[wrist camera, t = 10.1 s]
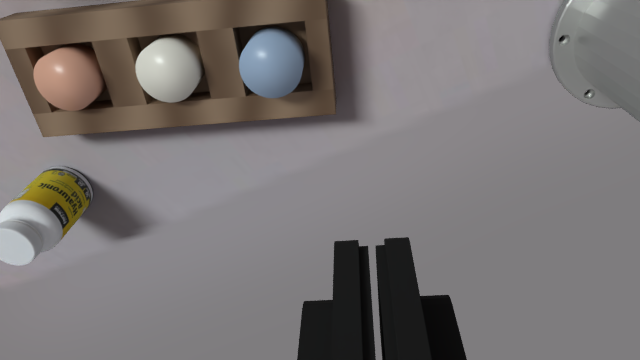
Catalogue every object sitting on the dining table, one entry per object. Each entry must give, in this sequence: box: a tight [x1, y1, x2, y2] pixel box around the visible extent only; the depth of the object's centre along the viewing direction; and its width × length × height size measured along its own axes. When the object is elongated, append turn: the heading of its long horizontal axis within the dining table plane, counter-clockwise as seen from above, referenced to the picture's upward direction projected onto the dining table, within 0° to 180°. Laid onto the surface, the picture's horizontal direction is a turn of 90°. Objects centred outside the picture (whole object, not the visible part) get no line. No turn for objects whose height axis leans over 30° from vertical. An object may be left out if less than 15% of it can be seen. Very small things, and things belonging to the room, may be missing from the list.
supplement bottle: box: [0, 166, 93, 266], centre depth 45 cm, size 5×5×10 cm
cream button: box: [136, 34, 205, 103], centre depth 39 cm, size 5×5×3 cm
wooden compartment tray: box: [0, 0, 336, 137], centre depth 40 cm, size 26×10×3 cm, turn 96°
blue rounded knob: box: [239, 26, 305, 98], centre depth 38 cm, size 5×5×3 cm
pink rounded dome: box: [33, 43, 107, 111], centre depth 40 cm, size 5×5×3 cm
